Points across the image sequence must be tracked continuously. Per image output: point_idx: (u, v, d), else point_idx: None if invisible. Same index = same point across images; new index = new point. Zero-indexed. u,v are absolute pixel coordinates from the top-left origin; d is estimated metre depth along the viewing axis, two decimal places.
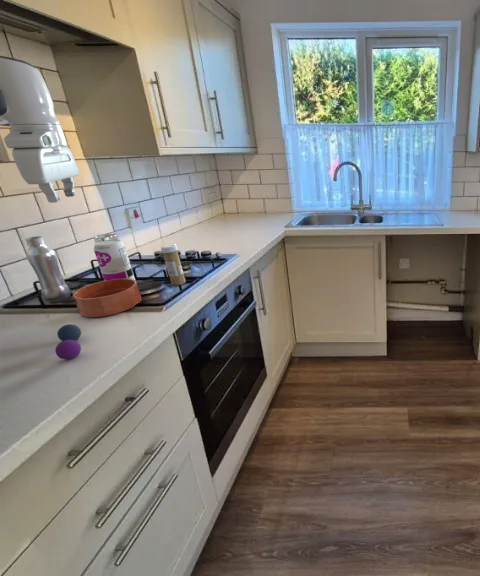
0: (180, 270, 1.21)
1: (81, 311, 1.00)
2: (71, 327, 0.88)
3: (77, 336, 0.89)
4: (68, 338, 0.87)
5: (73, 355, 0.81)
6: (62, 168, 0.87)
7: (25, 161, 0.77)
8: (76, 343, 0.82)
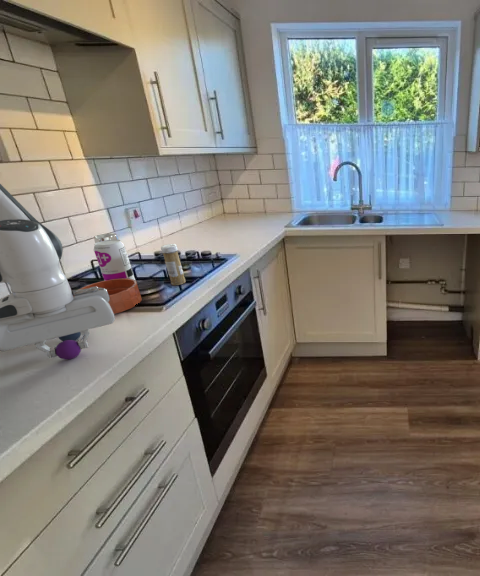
0: (180, 270, 1.21)
1: None
2: None
3: (77, 336, 0.89)
4: (68, 338, 0.87)
5: (73, 355, 0.81)
6: (60, 327, 0.78)
7: None
8: (76, 343, 0.82)
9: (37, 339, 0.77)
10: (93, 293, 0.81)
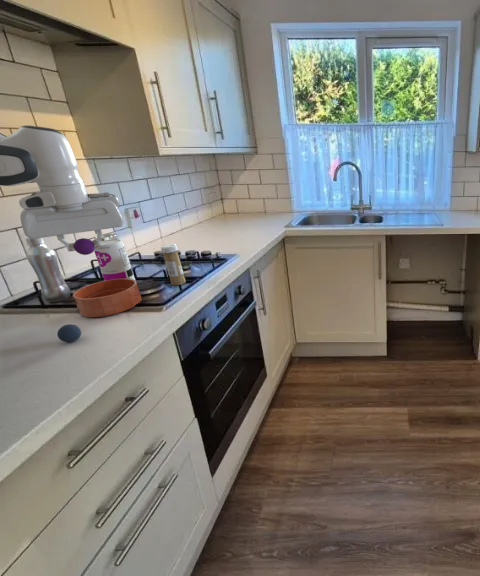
0: (180, 270, 1.21)
1: (81, 311, 1.00)
2: (71, 327, 0.88)
3: (77, 336, 0.89)
4: (68, 338, 0.87)
5: (89, 250, 0.96)
6: (78, 223, 0.93)
7: None
8: (91, 241, 0.96)
9: (59, 232, 0.91)
10: (105, 198, 0.96)
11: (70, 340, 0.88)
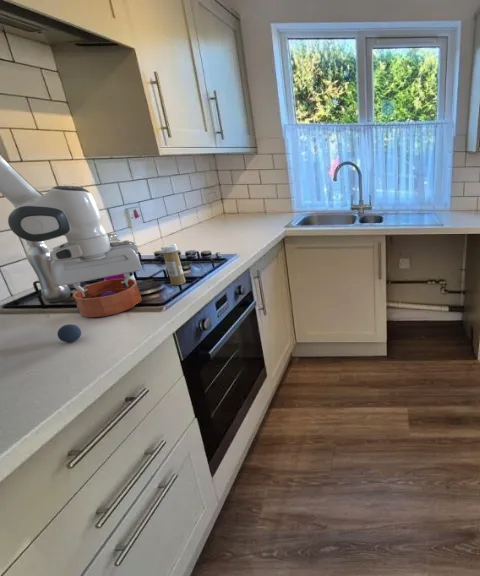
0: (180, 270, 1.21)
1: (81, 311, 1.00)
2: (71, 327, 0.88)
3: (77, 336, 0.89)
4: (68, 338, 0.87)
5: None
6: (101, 270, 1.02)
7: None
8: None
9: (84, 278, 1.00)
10: (126, 245, 1.05)
11: (70, 340, 0.88)
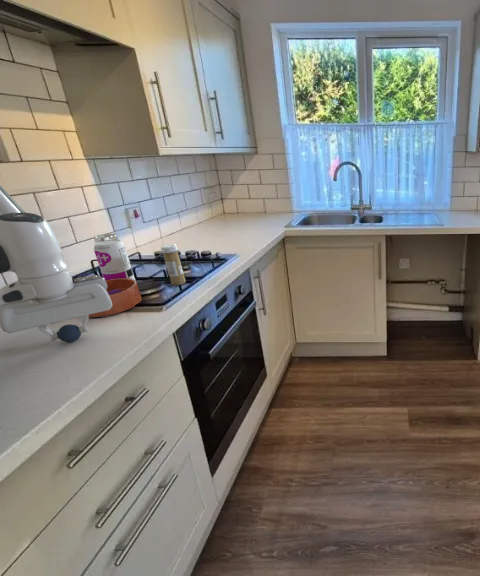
0: (180, 270, 1.21)
1: None
2: (71, 327, 0.88)
3: (77, 336, 0.89)
4: (68, 338, 0.87)
5: None
6: (62, 311, 0.85)
7: None
8: None
9: (41, 322, 0.83)
10: (92, 281, 0.88)
11: (70, 340, 0.88)
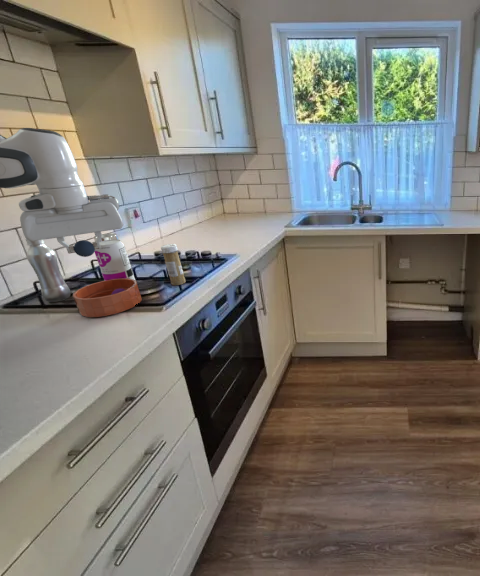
0: (180, 270, 1.21)
1: (81, 311, 1.00)
2: (86, 242, 0.95)
3: (91, 251, 0.96)
4: (83, 251, 0.95)
5: None
6: (78, 225, 0.93)
7: None
8: None
9: (59, 234, 0.91)
10: (105, 200, 0.96)
11: (85, 254, 0.95)
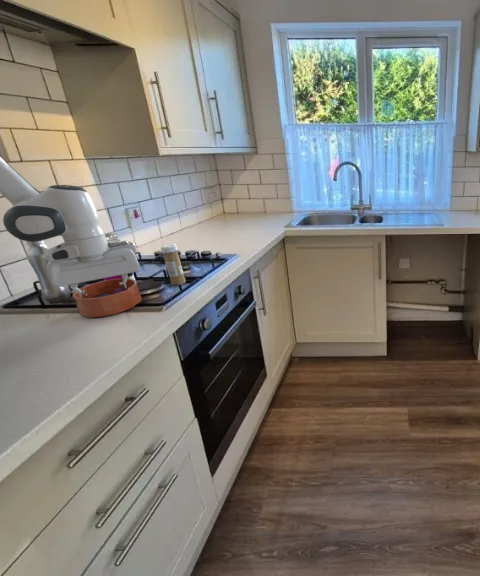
0: (180, 270, 1.21)
1: (81, 311, 1.00)
2: None
3: None
4: None
5: None
6: (99, 271, 1.00)
7: None
8: None
9: (81, 279, 0.98)
10: (124, 246, 1.03)
11: None
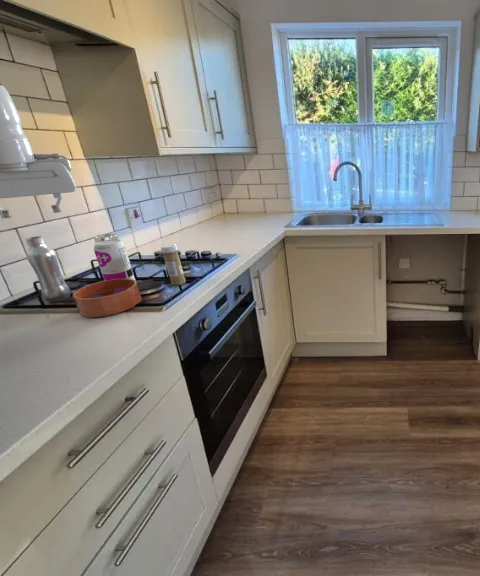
0: (180, 270, 1.21)
1: (81, 311, 1.00)
2: None
3: None
4: None
5: None
6: (23, 186, 0.85)
7: None
8: None
9: (1, 194, 0.83)
10: (55, 159, 0.88)
11: None
